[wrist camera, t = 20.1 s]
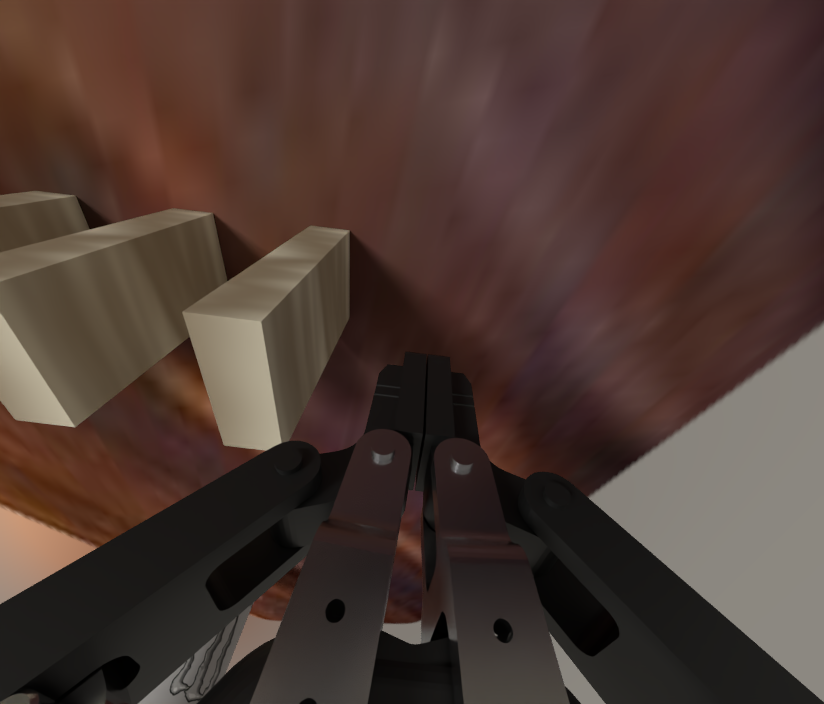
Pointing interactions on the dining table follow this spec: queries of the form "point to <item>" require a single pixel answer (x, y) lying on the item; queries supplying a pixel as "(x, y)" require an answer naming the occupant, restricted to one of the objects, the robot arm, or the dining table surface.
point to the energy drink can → (200, 668)
